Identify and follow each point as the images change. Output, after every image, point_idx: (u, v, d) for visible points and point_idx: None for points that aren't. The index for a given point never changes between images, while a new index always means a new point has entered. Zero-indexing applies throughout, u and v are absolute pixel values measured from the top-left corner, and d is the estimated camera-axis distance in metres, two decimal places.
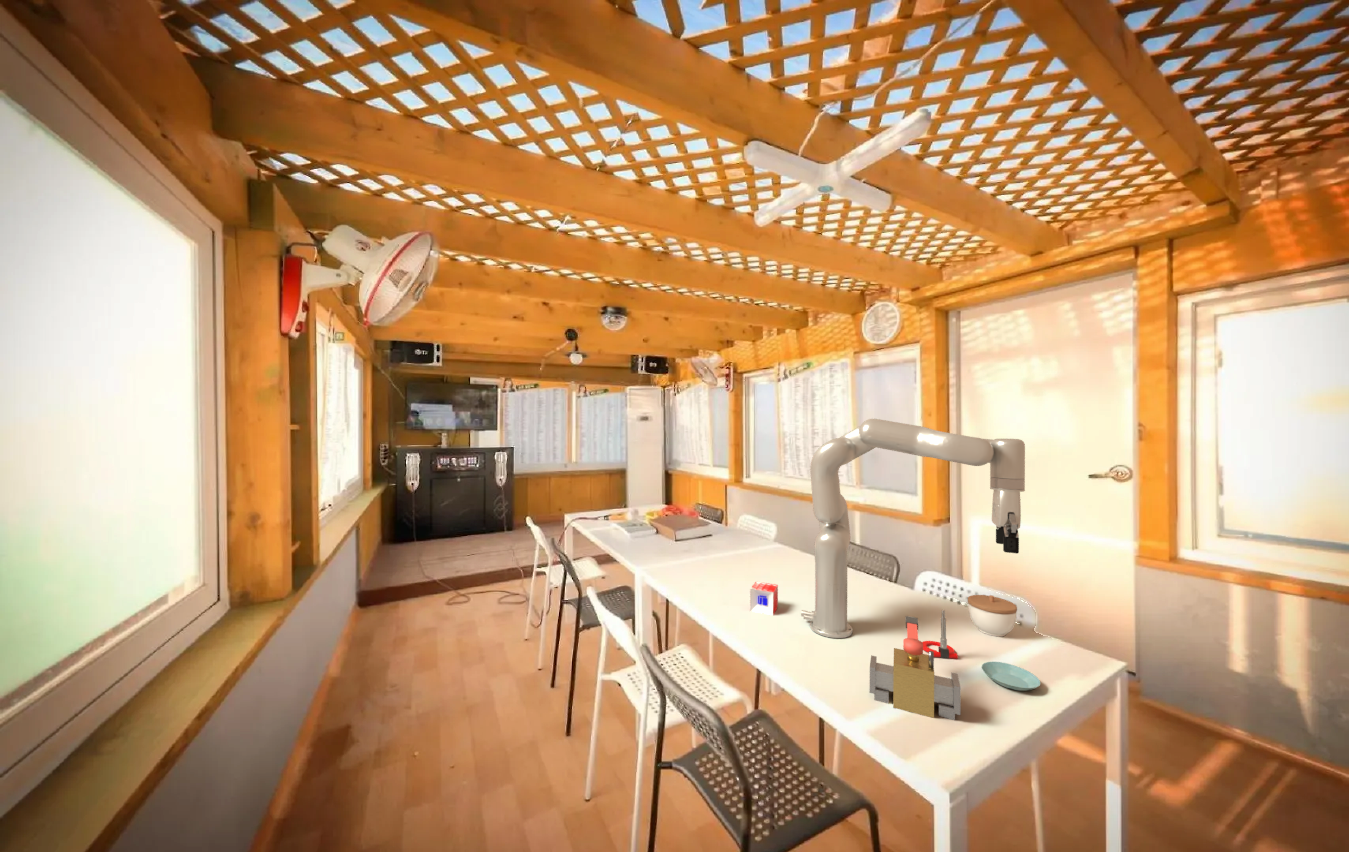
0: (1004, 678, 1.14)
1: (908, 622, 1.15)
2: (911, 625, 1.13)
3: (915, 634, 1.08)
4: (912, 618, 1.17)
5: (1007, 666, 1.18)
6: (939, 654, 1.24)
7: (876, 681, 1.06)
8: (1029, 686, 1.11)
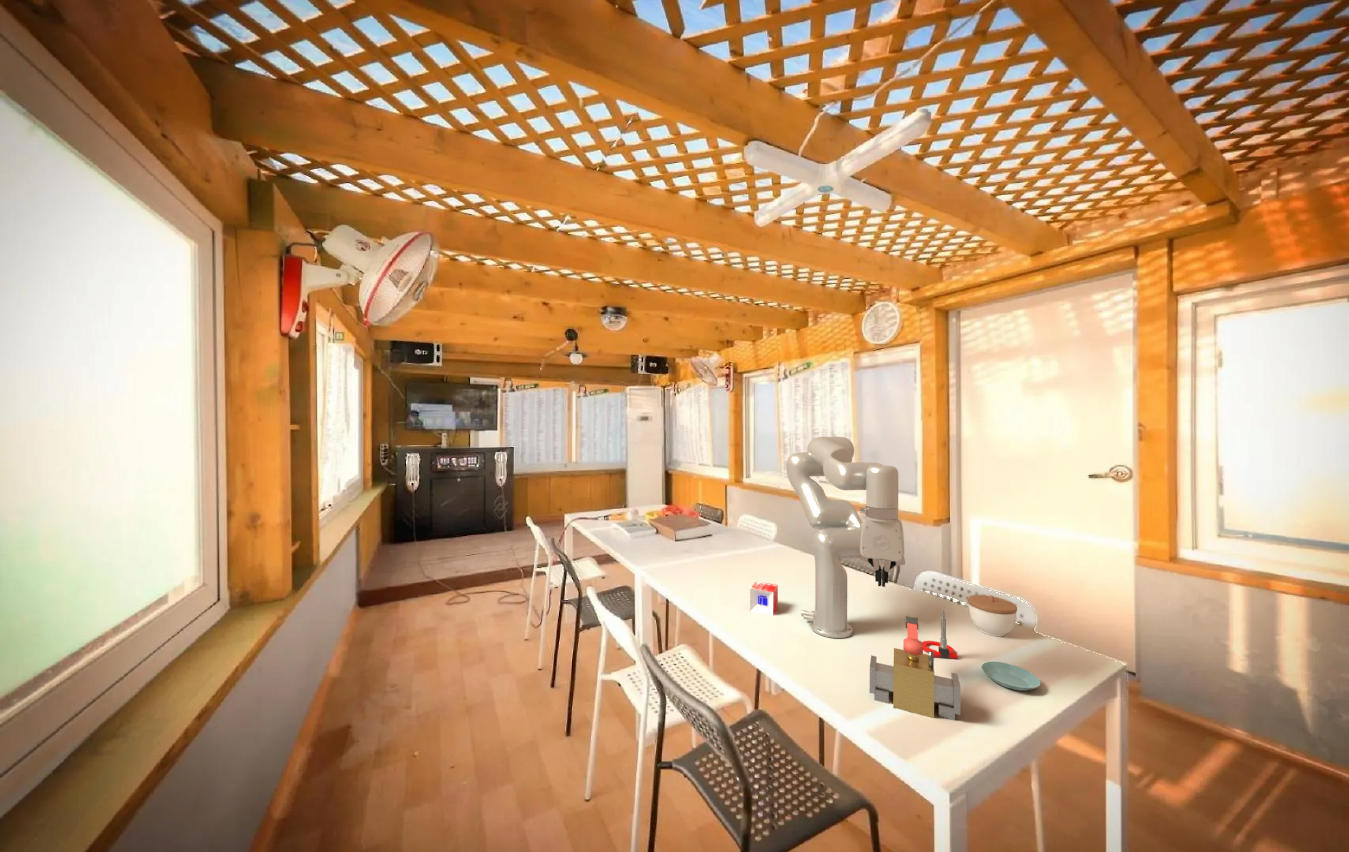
0: (1004, 678, 1.14)
1: (908, 622, 1.15)
2: (911, 625, 1.13)
3: (915, 634, 1.08)
4: (912, 618, 1.17)
5: (1007, 666, 1.18)
6: (939, 654, 1.24)
7: (876, 681, 1.06)
8: (1029, 686, 1.11)
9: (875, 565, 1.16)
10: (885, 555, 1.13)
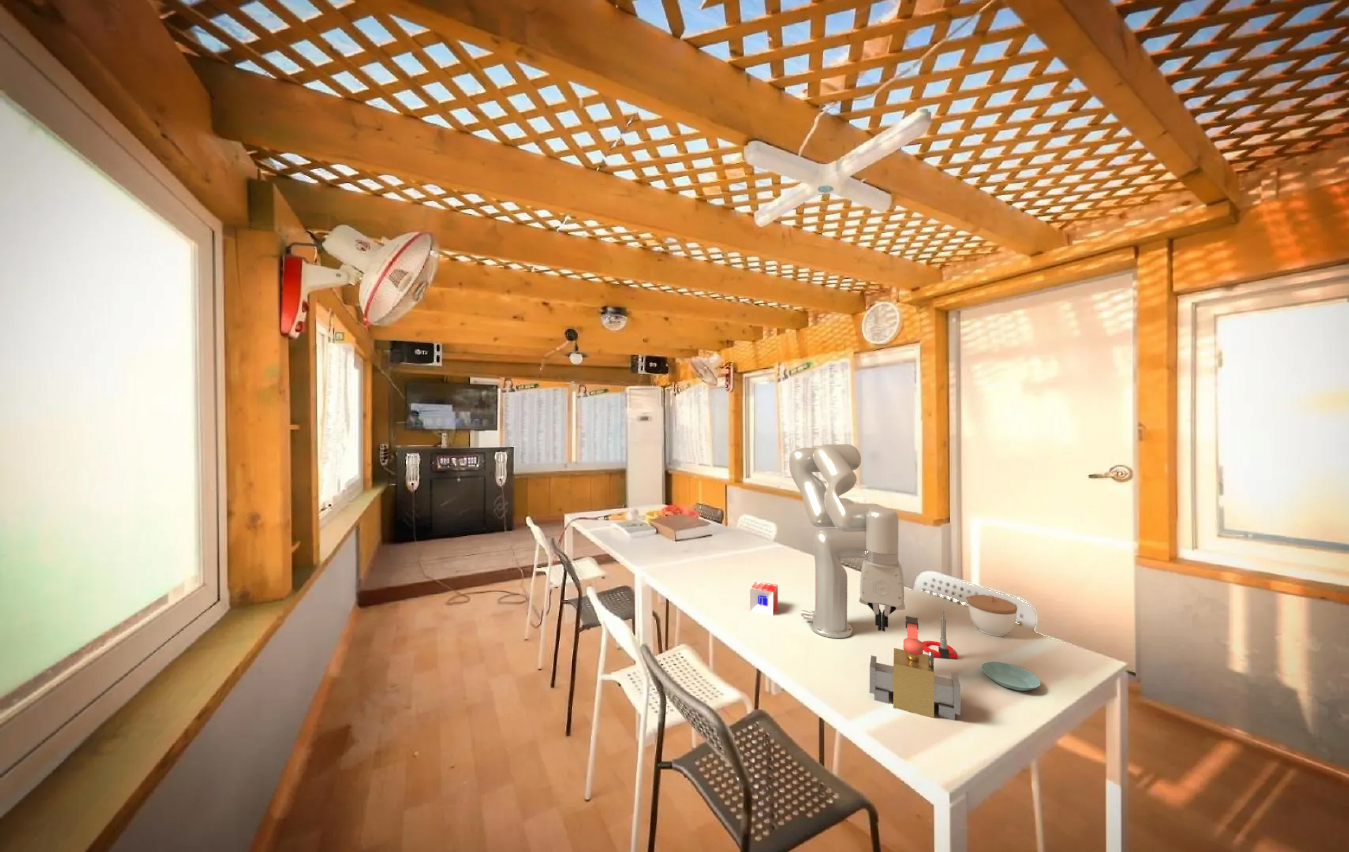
0: (1004, 678, 1.14)
1: (908, 622, 1.15)
2: (911, 625, 1.13)
3: (915, 634, 1.08)
4: (912, 618, 1.17)
5: (1007, 666, 1.18)
6: (939, 654, 1.24)
7: (876, 681, 1.06)
8: (1029, 686, 1.11)
9: (875, 609, 1.16)
10: (885, 600, 1.13)
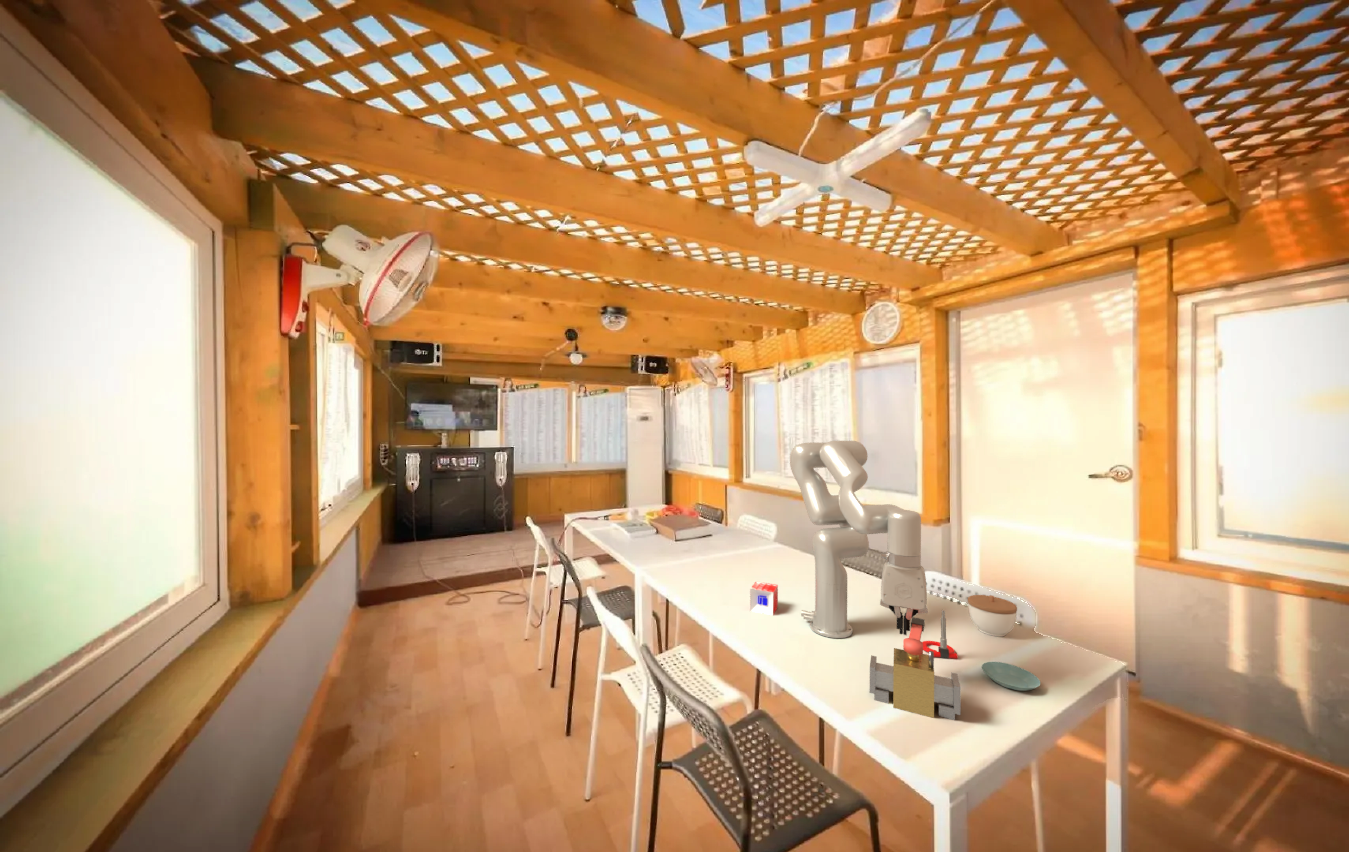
0: (1004, 678, 1.14)
1: (913, 623, 1.14)
2: (915, 626, 1.12)
3: (918, 634, 1.08)
4: (918, 619, 1.16)
5: (1007, 666, 1.18)
6: (939, 654, 1.24)
7: (876, 681, 1.06)
8: (1029, 686, 1.11)
9: (896, 612, 1.13)
10: (907, 603, 1.11)
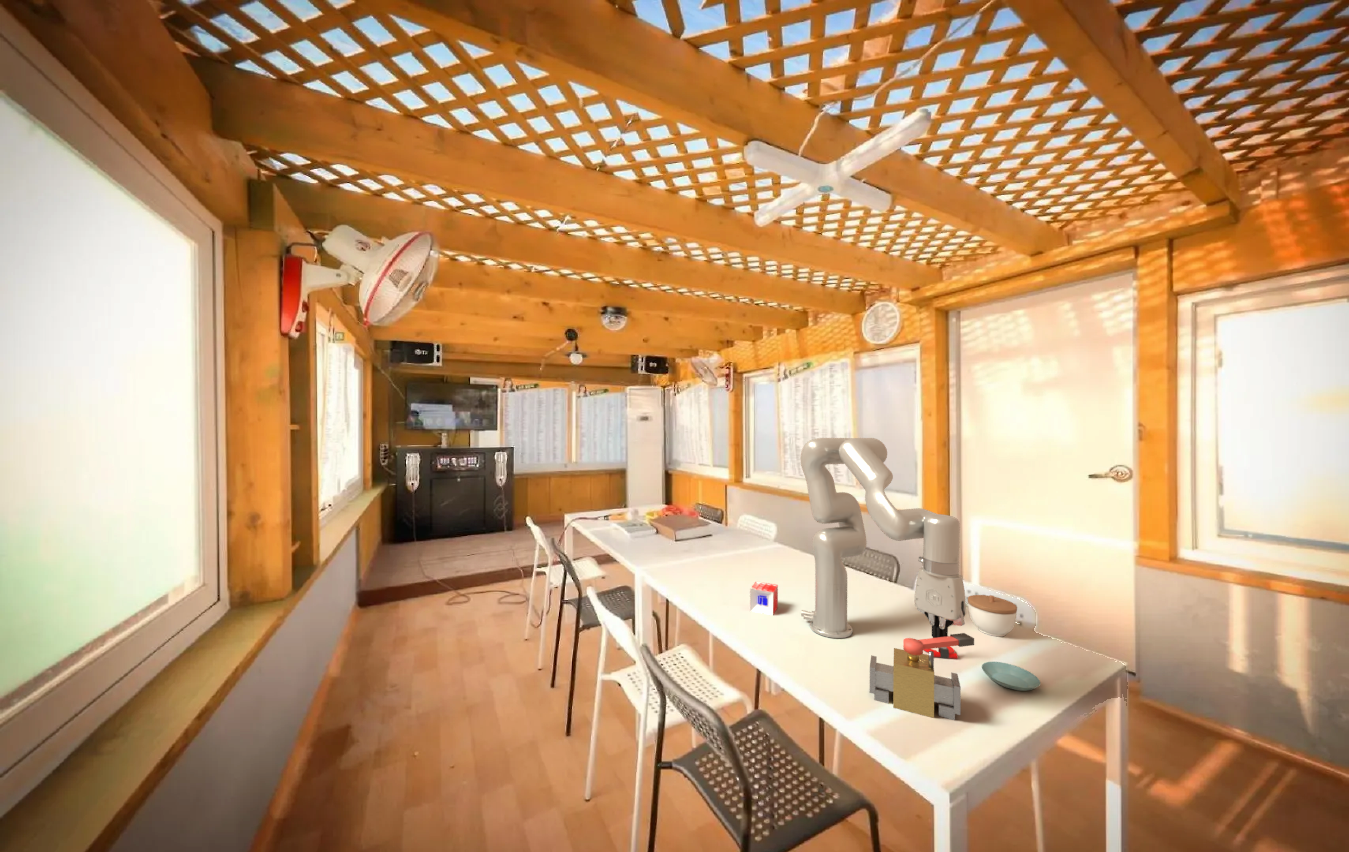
0: (1004, 678, 1.14)
1: (952, 636, 1.07)
2: (948, 638, 1.06)
3: (934, 642, 1.05)
4: (966, 636, 1.07)
5: (1007, 666, 1.18)
6: (939, 654, 1.24)
7: (876, 681, 1.06)
8: (1029, 686, 1.11)
9: (930, 619, 1.10)
10: (937, 611, 1.07)
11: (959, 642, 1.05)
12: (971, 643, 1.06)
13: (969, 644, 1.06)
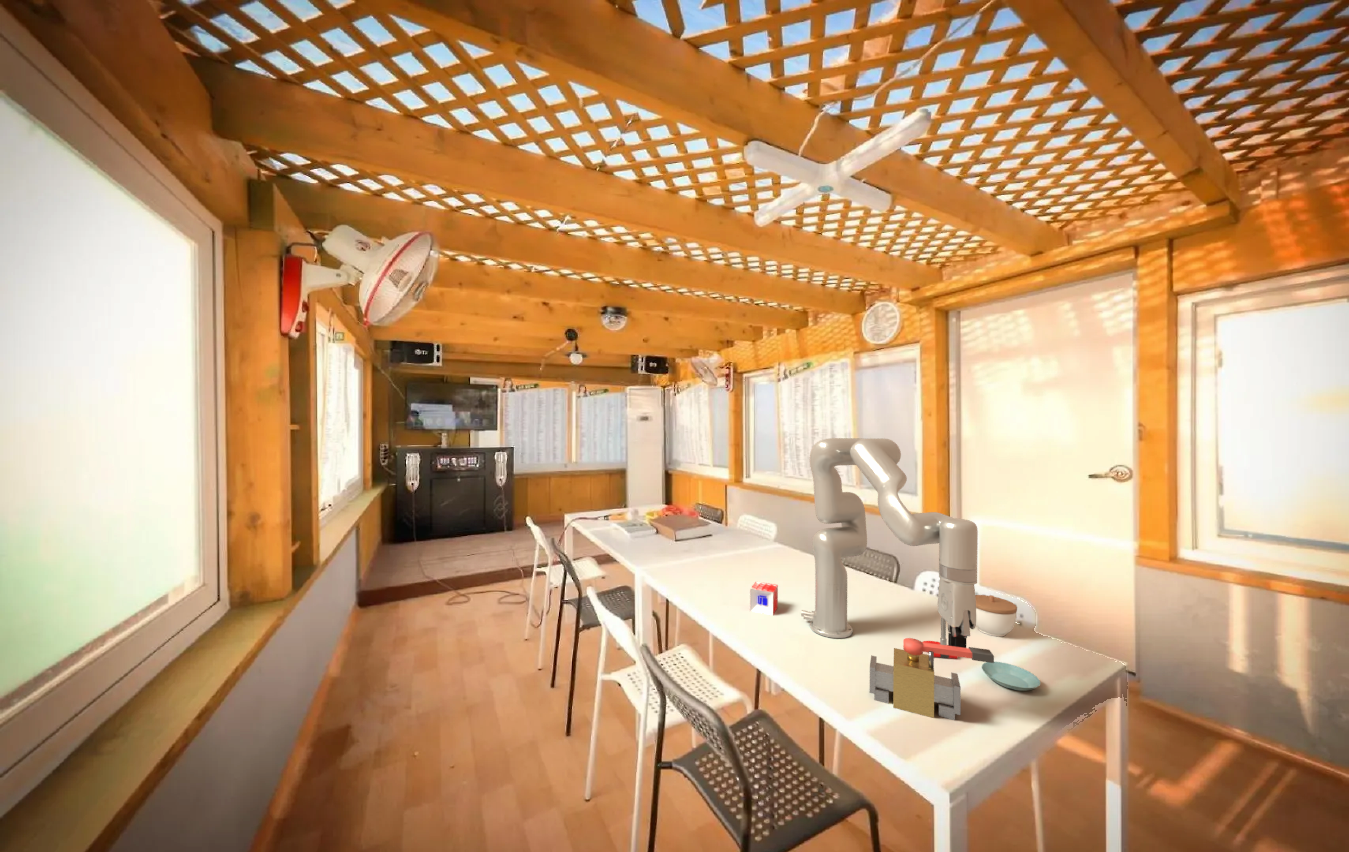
0: (1004, 678, 1.14)
1: (969, 648, 1.01)
2: (961, 649, 1.01)
3: (939, 647, 1.02)
4: (986, 652, 0.99)
5: (1007, 666, 1.18)
6: (939, 654, 1.24)
7: (876, 681, 1.06)
8: (1029, 686, 1.11)
9: (948, 626, 1.06)
10: (945, 616, 1.04)
11: (972, 655, 0.99)
12: (989, 660, 0.98)
13: (986, 660, 0.98)
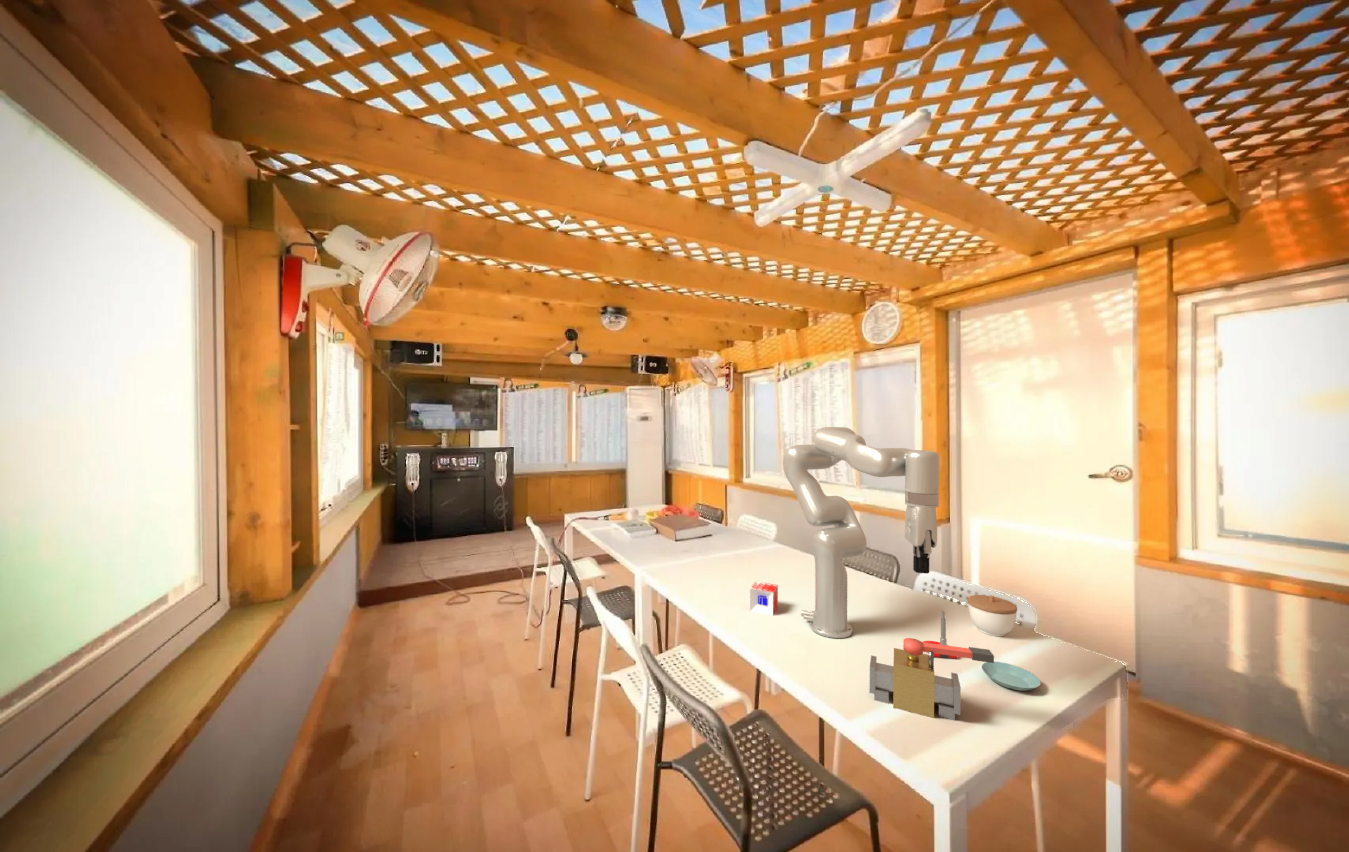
0: (1004, 678, 1.14)
1: (969, 648, 1.01)
2: (961, 649, 1.01)
3: (939, 647, 1.02)
4: (986, 652, 0.99)
5: (1007, 666, 1.18)
6: (939, 654, 1.25)
7: (876, 681, 1.06)
8: (1029, 686, 1.11)
9: (913, 549, 1.16)
10: (910, 539, 1.14)
11: (972, 655, 0.99)
12: (989, 660, 0.98)
13: (986, 660, 0.98)
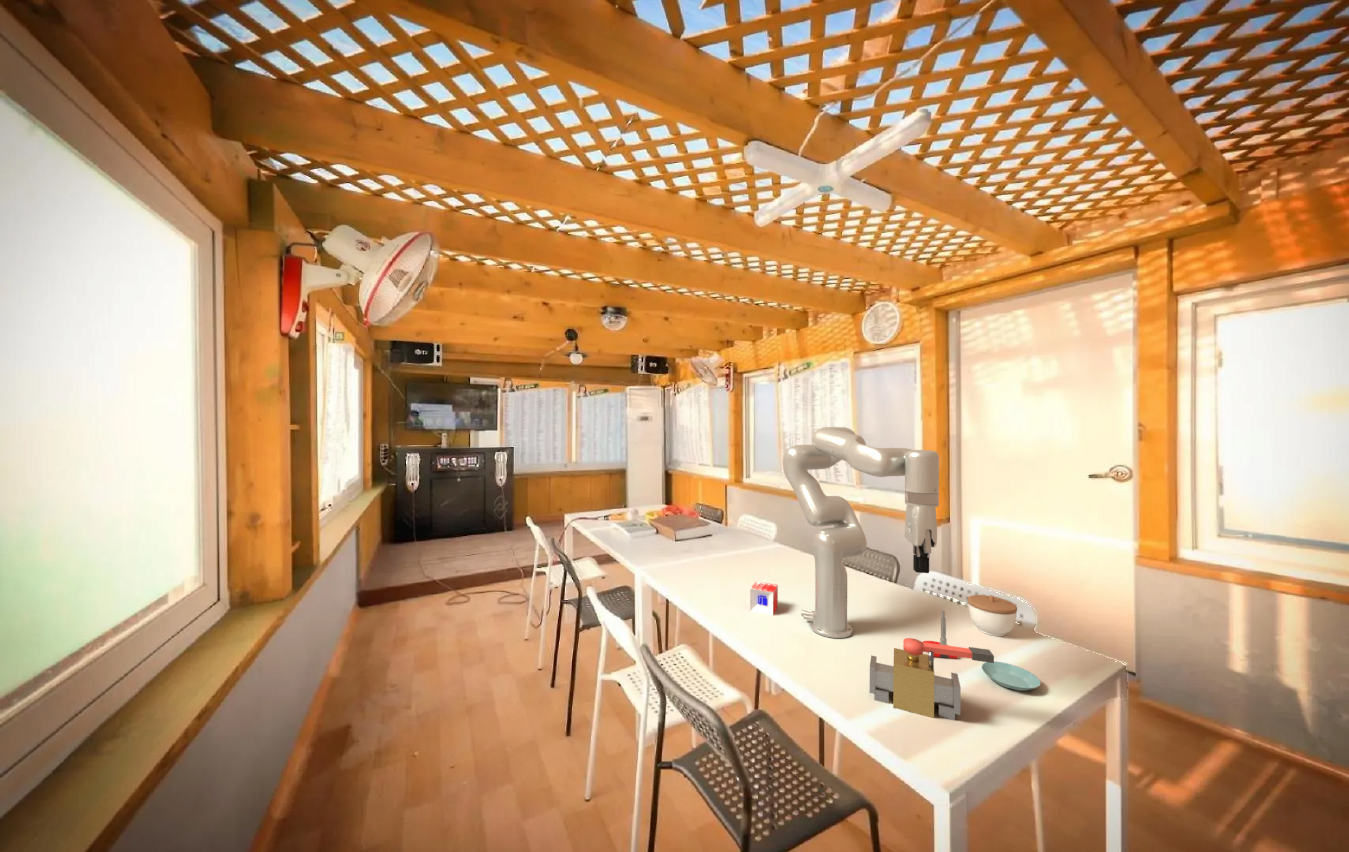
0: (1004, 678, 1.14)
1: (969, 648, 1.01)
2: (961, 649, 1.01)
3: (939, 647, 1.02)
4: (986, 652, 0.99)
5: (1007, 666, 1.18)
6: (939, 654, 1.25)
7: (876, 681, 1.06)
8: (1029, 686, 1.11)
9: (913, 549, 1.16)
10: (910, 538, 1.14)
11: (972, 655, 0.99)
12: (989, 660, 0.98)
13: (986, 660, 0.98)
